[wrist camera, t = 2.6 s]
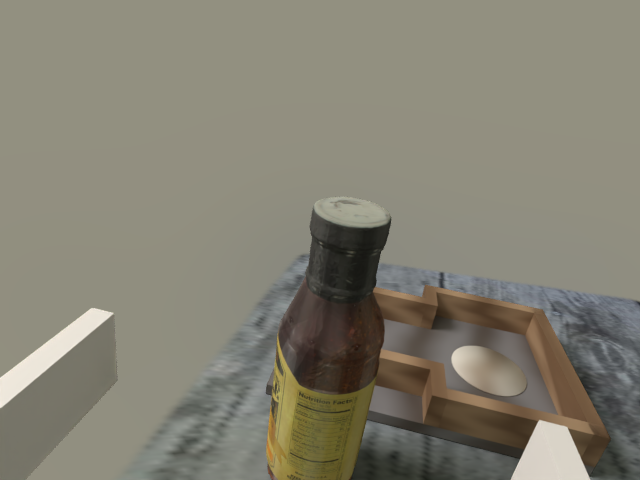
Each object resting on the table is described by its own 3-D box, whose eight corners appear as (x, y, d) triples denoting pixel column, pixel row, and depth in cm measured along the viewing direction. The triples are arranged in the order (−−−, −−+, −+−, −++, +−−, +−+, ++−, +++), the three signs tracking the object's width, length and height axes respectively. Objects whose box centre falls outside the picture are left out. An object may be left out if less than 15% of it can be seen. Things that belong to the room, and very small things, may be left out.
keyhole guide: (530, 338, 49) (542, 309, 48) (589, 476, 33) (610, 438, 31) (311, 290, 52) (315, 261, 51) (265, 393, 36) (269, 355, 35)
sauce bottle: (290, 420, 34) (325, 178, 26) (364, 456, 32) (427, 205, 24) (243, 487, 28) (269, 206, 20) (329, 536, 26) (396, 243, 18)
